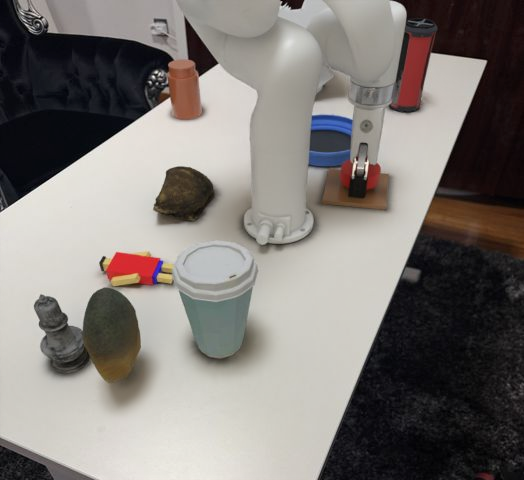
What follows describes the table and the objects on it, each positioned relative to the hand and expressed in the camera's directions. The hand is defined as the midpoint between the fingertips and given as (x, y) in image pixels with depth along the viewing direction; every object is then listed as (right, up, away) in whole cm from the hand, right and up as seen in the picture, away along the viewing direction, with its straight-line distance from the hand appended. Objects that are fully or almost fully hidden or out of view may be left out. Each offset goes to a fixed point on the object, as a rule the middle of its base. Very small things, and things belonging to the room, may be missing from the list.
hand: (358, 184), depth 96 cm
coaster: (0, -1, +1) cm, 1 cm away
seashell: (-33, -5, -2) cm, 33 cm away
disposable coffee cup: (-25, -31, -26) cm, 47 cm away
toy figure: (-39, -20, -16) cm, 46 cm away
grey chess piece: (-45, -34, -27) cm, 63 cm away
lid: (0, +2, -2) cm, 3 cm away
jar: (-37, +26, +24) cm, 51 cm away
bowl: (-5, +12, +12) cm, 18 cm away
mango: (-37, -36, -30) cm, 60 cm away
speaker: (+16, +28, +26) cm, 42 cm away
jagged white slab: (-9, +35, +32) cm, 48 cm away
